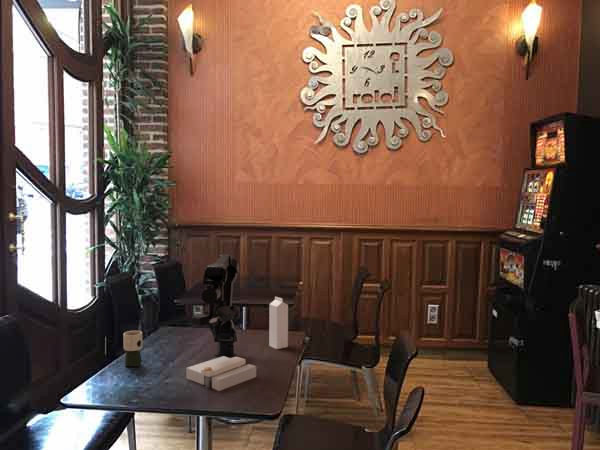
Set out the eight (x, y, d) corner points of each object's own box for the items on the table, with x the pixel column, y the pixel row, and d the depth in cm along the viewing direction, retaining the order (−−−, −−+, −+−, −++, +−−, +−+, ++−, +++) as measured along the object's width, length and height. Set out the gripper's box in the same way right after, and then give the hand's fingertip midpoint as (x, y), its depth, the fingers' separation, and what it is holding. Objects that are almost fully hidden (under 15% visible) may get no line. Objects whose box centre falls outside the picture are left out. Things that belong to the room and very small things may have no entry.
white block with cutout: (184, 379, 193) (184, 367, 192) (223, 365, 207) (223, 355, 207) (217, 391, 181) (217, 379, 181) (256, 376, 195) (256, 365, 195)
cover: (200, 374, 186) (200, 367, 185) (235, 361, 200) (235, 354, 199) (209, 377, 183) (209, 370, 182) (245, 363, 197) (245, 357, 196)
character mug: (139, 370, 201) (138, 336, 201) (120, 370, 201) (119, 337, 200) (145, 360, 212) (145, 329, 211) (127, 361, 212) (127, 329, 211)
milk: (276, 349, 229) (276, 299, 227) (269, 346, 233) (269, 297, 232) (288, 347, 232) (288, 297, 230) (280, 343, 237) (280, 295, 235)
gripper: (209, 305, 188) (209, 348, 189) (248, 297, 201) (248, 337, 203) (190, 300, 195) (191, 342, 196) (229, 293, 209) (229, 331, 210)
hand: (215, 338), depth 201 cm, fingers closed
